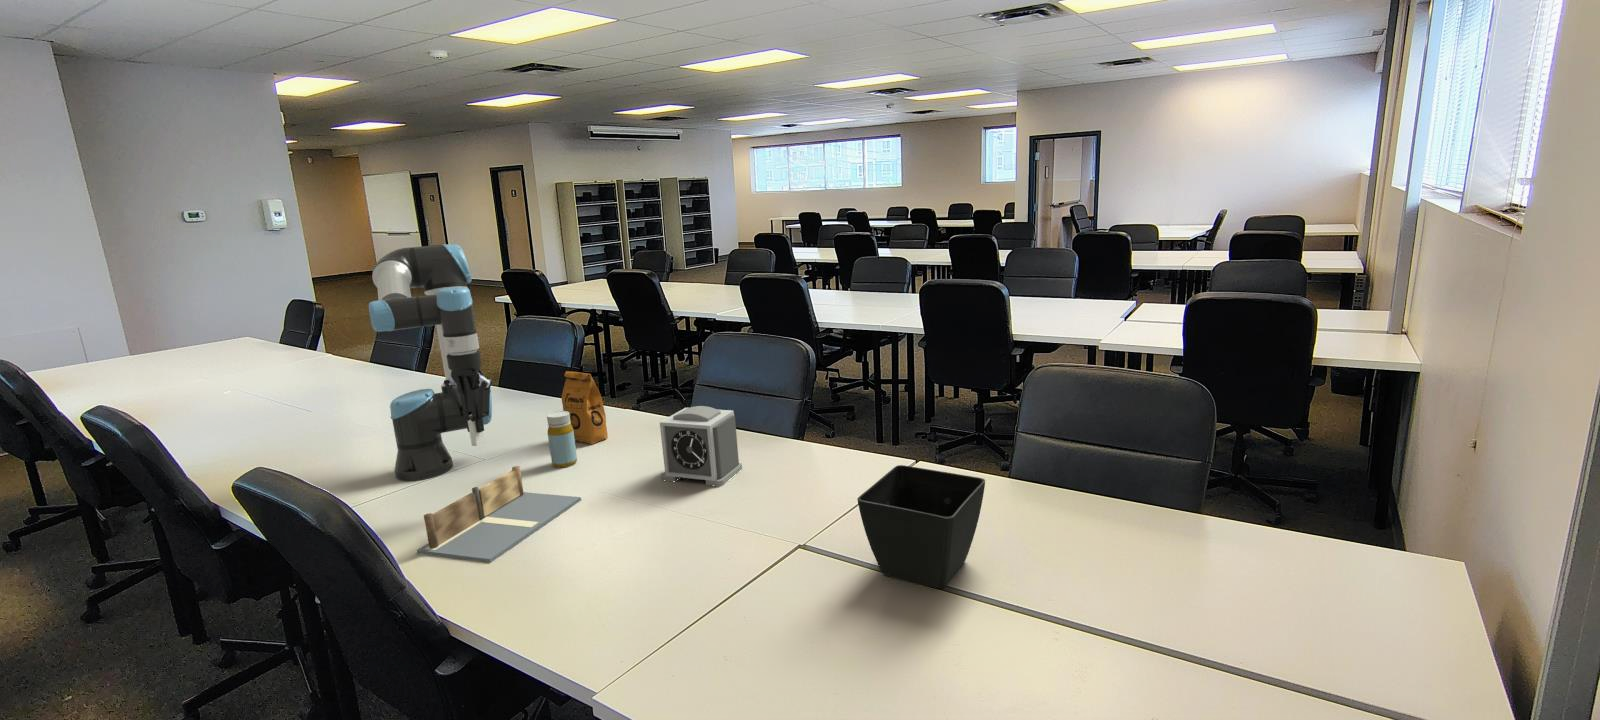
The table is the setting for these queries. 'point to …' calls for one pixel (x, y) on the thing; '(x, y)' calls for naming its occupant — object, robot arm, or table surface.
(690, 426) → the alarm clock
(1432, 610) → the table surface
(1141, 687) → the table surface
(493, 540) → the board
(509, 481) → the panel
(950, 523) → the flower pot
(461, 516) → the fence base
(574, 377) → the coffee package
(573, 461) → the bottle
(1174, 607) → the table surface
